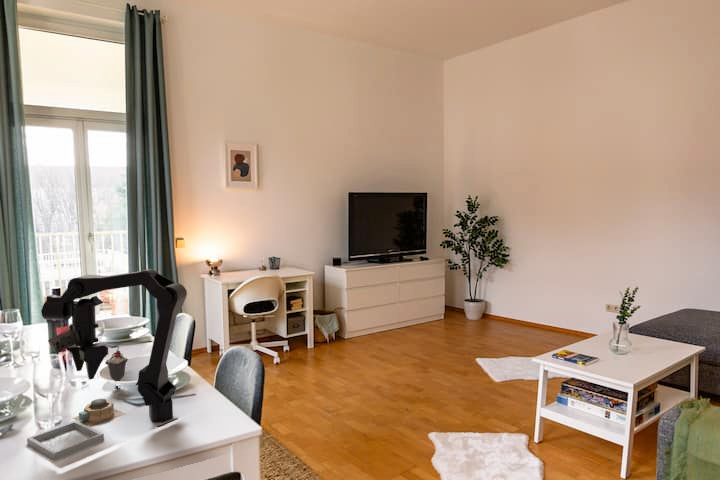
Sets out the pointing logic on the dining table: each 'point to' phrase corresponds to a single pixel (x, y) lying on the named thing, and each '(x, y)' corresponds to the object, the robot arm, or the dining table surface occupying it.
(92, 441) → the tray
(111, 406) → the ring
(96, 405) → the wooden peg base
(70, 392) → the dining table surface
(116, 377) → the sundae
